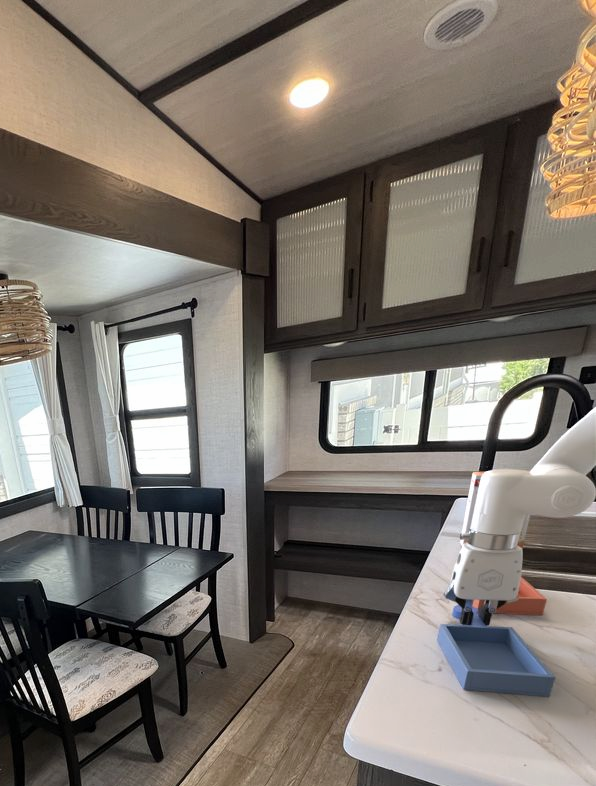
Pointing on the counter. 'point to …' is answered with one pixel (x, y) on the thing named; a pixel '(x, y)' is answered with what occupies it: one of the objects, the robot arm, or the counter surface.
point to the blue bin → (494, 660)
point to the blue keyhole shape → (476, 618)
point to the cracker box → (471, 505)
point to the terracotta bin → (521, 602)
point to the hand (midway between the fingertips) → (473, 626)
